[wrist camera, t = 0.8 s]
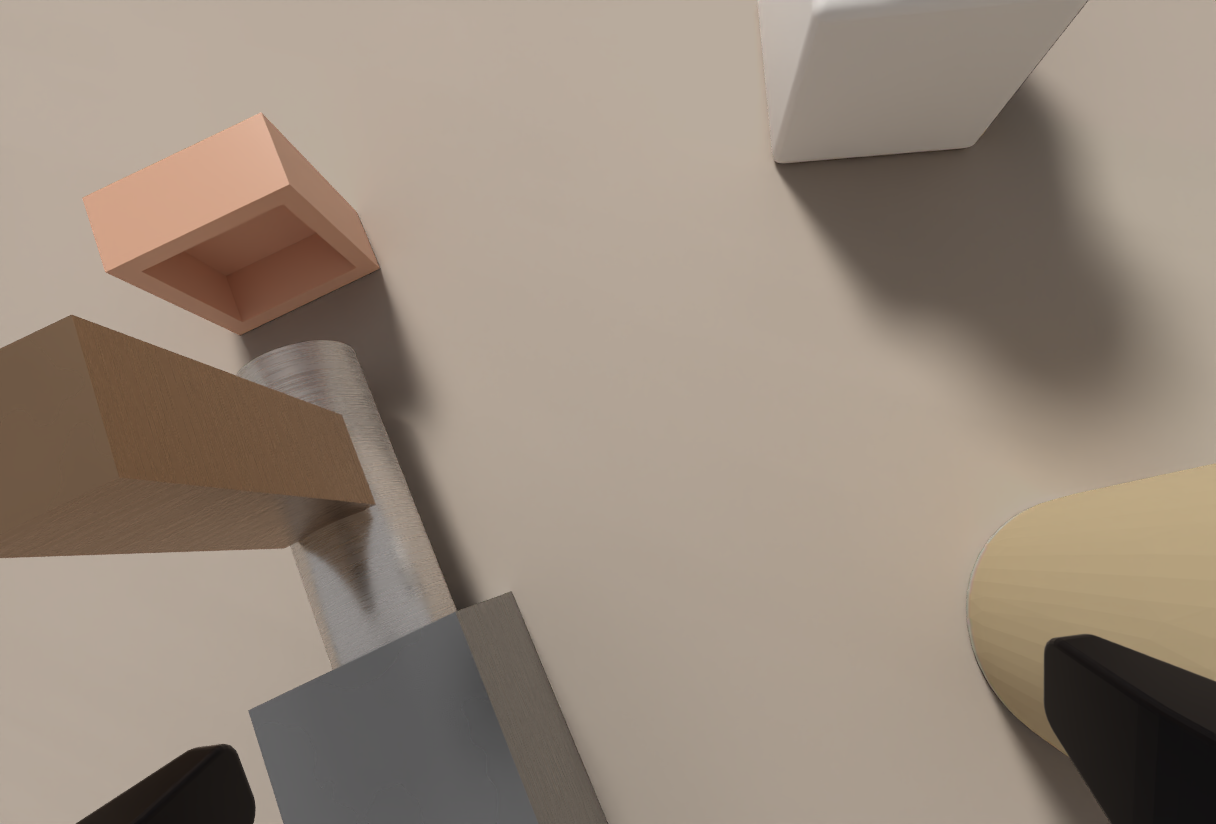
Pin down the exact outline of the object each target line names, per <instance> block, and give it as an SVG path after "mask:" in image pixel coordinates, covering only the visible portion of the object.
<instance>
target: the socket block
mask: <svg viewBox="0 0 1216 824" xmlns="http://www.w3.org/2000/svg"><path fill="white" fill-rule="evenodd" d="M83 201H84V205H85V208H86V211H87V214H88V218H89V221H90V224H91V227H92V230H93V234H94V237H95V240H96V243H97V247H98V250H99V253H100V256H101V260H102V263H103V266H104V269H105V272H106V273H108V274H110V275H113V276H115V277H117V278H119V279H121V280H123V281H125V282H128V283H130V284H132V285H134V286H136V287H138V288H140V289H142V290H145V291H147V292H149V293H151V294H153V295H155V296H157V297H160V298H162V299H164V300H166V301H168V302H170V303H172V304H174V305H177V306H179V307H181V308H183V309H185V310H187V311H189V312H192V313H194V314H196V315H198V316H200V317H202V318H204V319H206V320H209V321H211V322H213V323H215V324H217V325H219V326H221V327H224V328H226V329H228V330H230V331H232V332H234V333H236V334H238V335H242V334H244V333H246V332H248V331H250V330H252V329H254V328H256V327H259V326H261V325H263V324H265V323H267V322H269V321H271V320H273V319H275V318H277V317H280V316H282V315H284V314H286V313H288V312H290V311H292V310H294V309H296V308H298V307H300V306H303V305H305V304H307V303H309V302H311V301H313V300H315V299H317V298H319V297H321V296H323V295H326V294H328V293H330V292H332V291H334V290H336V289H338V288H340V287H342V286H344V285H347V284H349V283H351V282H353V281H355V280H357V279H359V278H361V277H363V276H365V275H367V274H370V273H372V272H374V271H376V270H378V269H380V267H379V265H378V262H377V260H376V257H375V255H374V253H373V250H372V248H371V245H370V243H369V241H368V238H367V236H366V233H365V231H364V229H363V226H362V224H361V221H360V219H359V217H358V214H357V212H356V211H355V210H354V209H353V208H352V207H351V205H350V204H349V203H348V202H347V201H346V200H345V199H344V198H343V197H342V196H341V195H340V194H339V193H338V192H337V191H336V190H335V189H334V188H333V187H332V186H331V185H330V184H329V183H328V181H327V180H326V179H325V178H324V177H323V176H322V175H321V174H320V173H319V172H318V171H317V170H316V169H315V168H314V167H313V166H312V165H311V164H310V163H309V162H308V161H307V160H306V159H305V157H304V156H303V155H302V154H301V153H300V152H299V151H298V150H297V149H296V148H295V147H294V146H293V145H292V144H291V143H290V142H289V141H288V140H287V139H286V138H285V137H284V136H283V135H282V133H281V132H280V131H279V130H278V129H277V128H276V127H275V126H274V125H273V124H272V123H271V122H270V121H269V120H268V119H267V118H266V117H265V116H264V115H263V114H262V113H259V114H257V115H255V116H253V117H250V118H248V119H246V120H244V121H242V122H240V123H238V124H236V125H234V126H232V127H229V128H227V129H225V130H223V131H221V132H219V133H217V134H215V135H213V136H211V137H209V138H206V139H204V140H202V141H200V142H198V143H196V144H194V145H192V146H190V147H188V148H185V149H183V150H181V151H179V152H177V153H175V154H173V155H171V156H169V157H167V158H165V159H162V160H160V161H158V162H156V163H154V164H152V165H150V166H148V167H146V168H144V169H141V170H139V171H137V172H135V173H133V174H131V175H129V176H127V177H125V178H123V179H121V180H118V181H116V182H114V183H112V184H110V185H108V186H106V187H104V188H102V189H100V190H98V191H95V192H93V193H91V194H89V195H87V196H85V197H83Z"/></svg>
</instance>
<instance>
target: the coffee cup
mask: <svg viewBox="0 0 1216 824" xmlns="http://www.w3.org/2000/svg"><path fill="white" fill-rule="evenodd" d="M966 614H967V627H968V631H969V636H970V641H971V645H972V648H973V651H974V654H975V656H976V659H977V662H978V664H979V666H980V668H981V670H982V672H983V674H984V676H985V678H986V679H987V681H988V683H989V685H990V686H991V688H992V689H993V691H994V692H995V694H996V695H997V696H998V697H999V699H1000V700H1001V701H1002V702H1003V704H1004V705H1005V706H1006V707H1007V708H1008V709H1009V710H1010V711H1011V712H1012V713H1013V715H1014V716H1016V717H1017V718H1018V719H1019V720H1020V721H1021V722H1023V723H1024V724H1025V725H1026V726H1027V727H1028V728H1030V729H1031V730H1032V731H1033V732H1034V733H1036V734H1037V735H1039V736H1040V737H1041V738H1043V739H1044V740H1045V741H1047V742H1048V743H1050V744H1051V745H1052V746H1054V747H1055V748H1056V749H1058V750H1059V751H1061V752H1062V753H1063V754H1065V755H1066V756H1068V754H1067V753H1066V751H1065V750H1064V748H1063V746H1062V745H1061V743H1060V742H1059V740H1058V738H1057V737H1056V735H1055V734H1054V732H1053V730H1052V728H1051V726H1050V724H1049V722H1048V720H1047V717H1046V714H1045V709H1044V701H1043V699H1044V647H1045V645H1046V643H1047V642H1048V641H1049V640H1050V639H1052V638H1055V637H1063V636H1071V635H1078V634H1092V635H1095V636H1098V637H1101V638H1103V639H1106V640H1109V641H1111V642H1114V643H1117V644H1119V645H1122V646H1124V647H1127V648H1130V649H1132V650H1135V651H1138V652H1140V653H1143V654H1146V655H1148V656H1151V657H1153V658H1156V659H1159V660H1161V661H1164V662H1167V663H1169V664H1172V665H1174V666H1177V667H1180V668H1182V669H1185V670H1188V671H1190V672H1193V673H1195V674H1198V675H1201V676H1203V677H1206V678H1209V679H1211V680H1214V681H1216V464H1211V465H1206V466H1202V467H1197V468H1192V469H1188V470H1183V471H1178V472H1174V473H1169V474H1164V475H1160V476H1155V477H1151V478H1146V479H1141V480H1137V481H1132V482H1128V483H1123V484H1118V485H1114V486H1109V487H1105V488H1100V489H1095V490H1091V491H1086V492H1082V493H1077V494H1073V495H1069V496H1065V497H1062V498H1058V499H1054V500H1051V501H1048V502H1044V503H1041V504H1038V505H1036V506H1034V507H1031V508H1029V509H1027V510H1025V511H1023V512H1021V513H1020V514H1018V515H1016V516H1015V517H1013V518H1012V519H1010V520H1009V521H1008V522H1006V523H1005V524H1004V525H1003V526H1002V527H1001V528H999V529H998V531H997V532H996V533H995V534H994V535H993V536H992V537H991V538H990V539H989V541H988V542H987V543H986V544H985V546H984V548H983V549H982V551H981V553H980V554H979V556H978V559H977V561H976V564H975V566H974V568H973V571H972V573H971V577H970V582H969V586H968V591H967V603H966ZM1068 757H1069V756H1068Z"/></svg>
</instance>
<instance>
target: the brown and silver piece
mask: <svg viewBox="0 0 1216 824" xmlns="http://www.w3.org/2000/svg"><path fill="white" fill-rule="evenodd" d="M288 546H290V547H291V550H292V553H293V556H294V559H295V562H296V565H297V568H298V570H299V573H300V576H301V579H302V582H303V585H304V588H305V591H306V594H307V597H308V599H309V602H310V605H311V608H312V611H313V614H314V617H315V620H316V623H317V626H318V629H319V631H320V634H321V637H322V640H323V643H324V646H325V649H326V652H327V655H328V658H329V660H330V663H331V666H332V669H333V670H334V669H336V668H338V667H341V666H343V665H345V664H347V663H349V662H351V661H353V660H355V659H357V658H359V657H361V656H364V655H366V654H368V653H370V652H372V651H374V650H376V649H378V648H380V647H382V646H384V645H387V644H389V643H391V642H393V641H395V640H397V639H399V638H401V637H403V636H405V635H407V634H410V633H412V632H414V631H416V630H418V629H420V628H422V627H424V626H426V625H428V624H431V623H433V622H435V621H437V620H439V619H441V618H443V617H445V616H447V615H449V614H451V613H454V612H456V611H457V610H456V607H455V605H454V602H453V600H452V597H451V594H450V592H449V589H448V587H447V584H446V582H445V579H444V577H443V574H442V572H441V569H440V567H439V564H438V561H437V559H436V556H435V554H434V551H433V549H432V546H431V544H430V541H429V539H428V536H427V534H426V531H425V528H424V526H423V523H422V521H421V518H420V516H419V513H418V511H417V508H416V506H415V503H414V501H413V498H412V495H411V493H410V490H409V488H408V485H407V483H406V480H405V478H404V475H403V473H402V470H401V468H400V465H399V462H398V460H397V457H396V455H395V452H394V450H393V447H392V445H391V442H390V440H389V437H388V435H387V432H386V429H385V427H384V424H383V422H382V419H381V417H380V414H379V412H378V409H377V407H376V404H375V402H374V399H373V396H372V394H371V391H370V389H369V386H368V384H367V381H366V379H365V376H364V374H363V371H362V369H361V366H360V363H359V361H358V358H357V356H356V353H355V351H354V349H353V348H352V347H351V346H349V345H347V344H345V343H342V342H338V341H330V340H316V341H306V342H300V343H295V344H291V345H287V346H283V347H280V348H277V349H274V350H272V351H269V352H267V353H265V354H262V355H260V356H258V357H257V358H255V359H253V360H252V361H250V362H249V363H247V364H246V365H245V366H244V367H242V368H241V369H240V370H239V372H238V373H237V375H233V374H230V373H228V372H225V371H222V370H219V369H217V368H214V367H211V366H209V365H206V364H203V363H201V362H198V361H195V360H193V359H190V358H187V357H184V356H182V355H179V354H176V353H174V352H171V351H168V350H166V349H163V348H160V347H157V346H155V345H152V344H149V343H147V342H144V341H141V340H139V339H136V338H133V337H130V336H128V335H125V334H122V333H120V332H117V331H114V330H112V329H109V328H106V327H103V326H101V325H98V324H95V323H93V322H90V321H87V320H85V319H82V318H79V317H76V316H74V315H70V316H68V317H66V318H64V319H61V320H59V321H57V322H55V323H53V324H51V325H49V326H47V327H45V328H43V329H40V330H38V331H36V332H34V333H32V334H30V335H28V336H26V337H24V338H22V339H20V340H17V341H15V342H13V343H11V344H9V345H7V346H5V347H3V348H1V349H0V558H15V557H45V556H74V555H103V554H132V553H161V552H190V551H220V550H249V549H278V548H286V547H288Z"/></svg>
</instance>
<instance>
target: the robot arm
mask: <svg viewBox="0 0 1216 824" xmlns="http://www.w3.org/2000/svg"><path fill="white" fill-rule="evenodd" d="M1043 701H1044V709H1045V714H1046V717H1047V720H1048V722H1049V724H1050V726H1051V728H1052V730H1053V732H1054V734H1055V735H1056V737H1057V738H1058V740H1059V742H1060V743H1061V745H1062V746H1063V748H1064V750H1065V751H1066V753H1067V754H1068V756H1069V758H1070V759H1071V761H1072V762H1073V764H1074V766H1075V767H1076V769H1077V770H1078V772H1079V774H1080V775H1081V777H1082V778H1083V780H1084V782H1085V783H1086V785H1087V786H1088V788H1089V790H1090V791H1091V793H1092V794H1093V796H1094V798H1095V799H1096V801H1097V802H1098V804H1099V806H1100V807H1101V809H1102V810H1103V812H1104V814H1105V815H1106V817H1107V818H1108V820H1109V822H1110V823H1111V824H1216V681H1214V680H1211V679H1209V678H1206V677H1203V676H1201V675H1198V674H1195V673H1193V672H1190V671H1188V670H1185V669H1182V668H1180V667H1177V666H1174V665H1172V664H1169V663H1167V662H1164V661H1161V660H1159V659H1156V658H1153V657H1151V656H1148V655H1146V654H1143V653H1140V652H1138V651H1135V650H1132V649H1130V648H1127V647H1124V646H1122V645H1119V644H1117V643H1114V642H1111V641H1109V640H1106V639H1103V638H1101V637H1098V636H1095V635H1092V634H1078V635H1071V636H1063V637H1055V638H1052V639H1050V640H1049V641H1048V642H1047V643H1046V645H1045V647H1044V699H1043ZM254 818H255V800H254V797H253V794H252V791H251V788H250V786H249V783H248V780H247V778H246V775H245V772H244V770H243V767H242V764H241V761H240V759H239V756H238V754H237V752H236V750H235V749H234V748H233V747H232V746H230V745H226V744H219V745H211V746H203V747H197V748H193V749H191V750H189V751H187V752H185V753H184V754H182V755H180V756H179V757H177V758H176V759H174V760H173V761H171V762H170V763H168V764H167V765H165V766H164V767H162V768H160V769H159V770H157V771H156V772H154V773H153V774H151V775H150V776H148V777H147V778H145V779H144V780H142V781H140V782H139V783H137V784H136V785H134V786H133V787H131V788H130V789H128V790H127V791H125V792H124V793H122V794H121V795H119V796H117V797H116V798H114V799H113V800H111V801H110V802H108V803H107V804H105V805H104V806H102V807H101V808H99V809H97V810H96V811H94V812H93V813H91V814H90V815H88V816H87V817H85V818H84V819H82V820H81V821H79V822H77V823H76V824H253V823H254Z"/></svg>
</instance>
